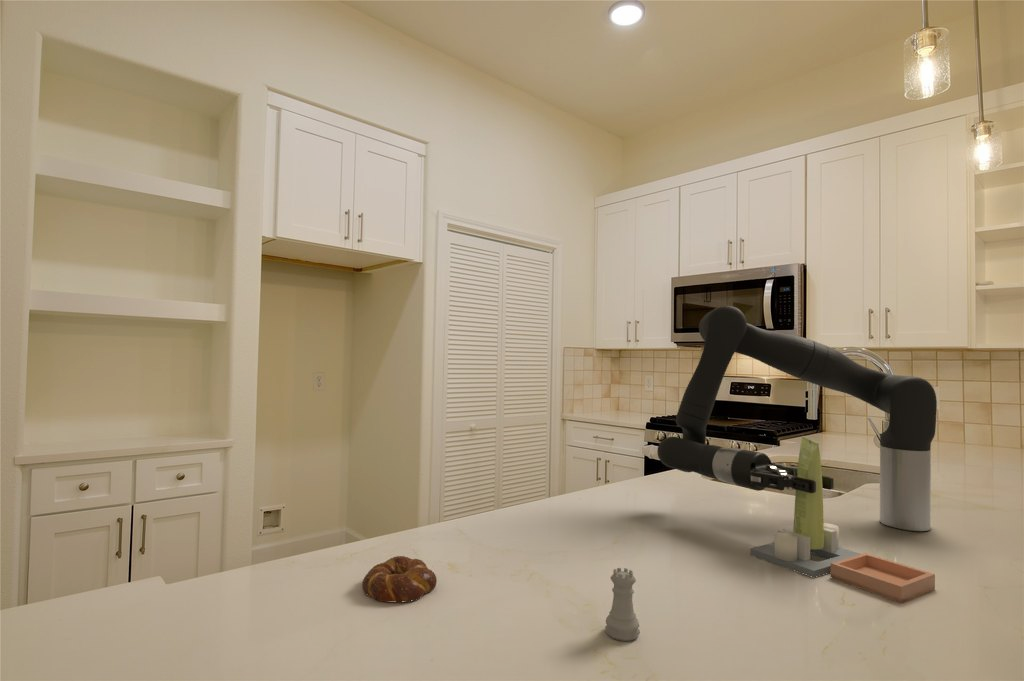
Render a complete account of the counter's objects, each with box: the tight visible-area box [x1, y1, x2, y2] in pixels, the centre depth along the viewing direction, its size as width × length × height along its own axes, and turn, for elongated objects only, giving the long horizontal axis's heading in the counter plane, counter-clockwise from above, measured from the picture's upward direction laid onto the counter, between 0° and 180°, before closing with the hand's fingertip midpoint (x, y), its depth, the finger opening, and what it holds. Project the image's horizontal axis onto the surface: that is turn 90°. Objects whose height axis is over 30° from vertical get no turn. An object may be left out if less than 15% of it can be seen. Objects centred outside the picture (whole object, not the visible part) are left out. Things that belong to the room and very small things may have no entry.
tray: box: [830, 552, 936, 604], centre depth 90 cm, size 11×11×2 cm
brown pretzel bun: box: [361, 555, 438, 603], centre depth 84 cm, size 12×11×4 cm
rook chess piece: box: [604, 567, 641, 642], centre depth 72 cm, size 4×4×8 cm
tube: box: [793, 435, 825, 549], centre depth 101 cm, size 6×5×20 cm
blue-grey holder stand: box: [749, 522, 861, 578], centre depth 101 cm, size 17×12×5 cm
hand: (823, 485), depth 99 cm, fingers closed on tube, 5 cm apart
